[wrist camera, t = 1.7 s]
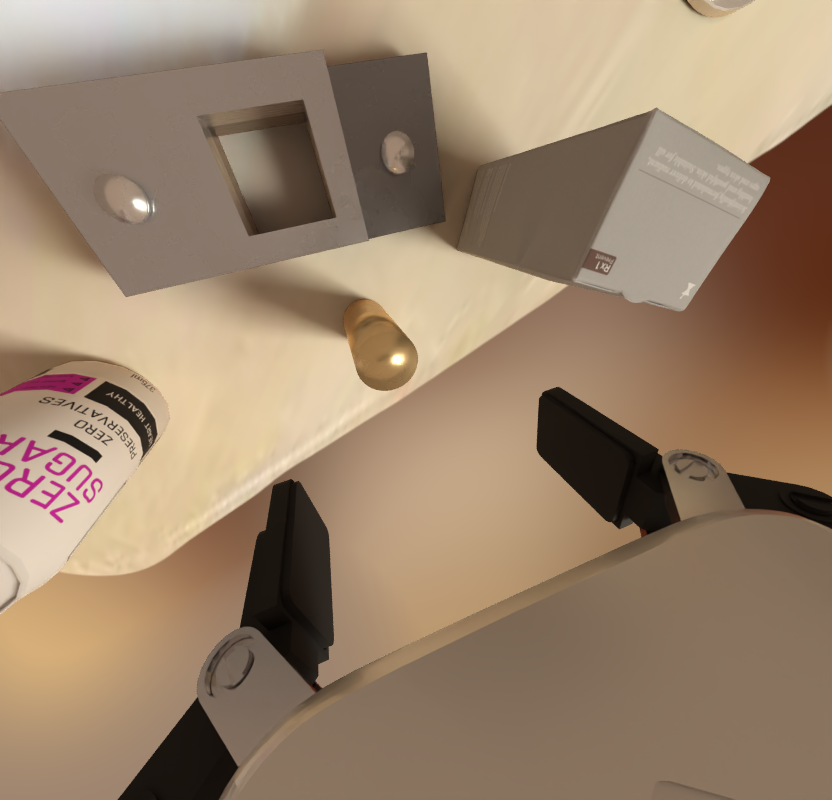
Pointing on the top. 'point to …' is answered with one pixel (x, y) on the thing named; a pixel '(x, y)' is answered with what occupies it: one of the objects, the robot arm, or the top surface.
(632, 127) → the skincare box
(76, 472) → the supplement can
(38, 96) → the grey plate with window
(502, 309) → the top surface
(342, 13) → the top surface
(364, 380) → the brass pin
